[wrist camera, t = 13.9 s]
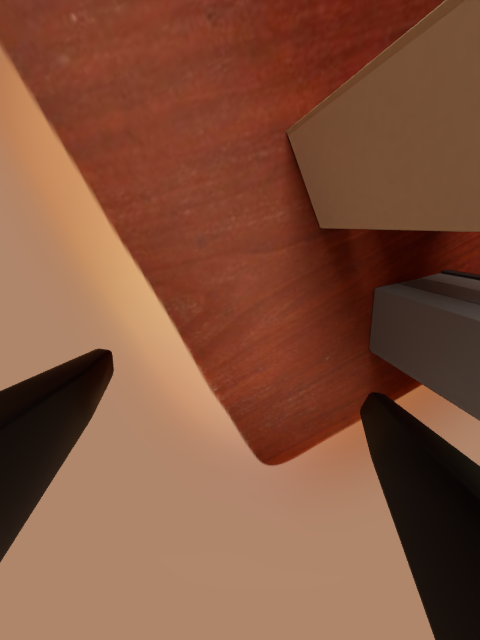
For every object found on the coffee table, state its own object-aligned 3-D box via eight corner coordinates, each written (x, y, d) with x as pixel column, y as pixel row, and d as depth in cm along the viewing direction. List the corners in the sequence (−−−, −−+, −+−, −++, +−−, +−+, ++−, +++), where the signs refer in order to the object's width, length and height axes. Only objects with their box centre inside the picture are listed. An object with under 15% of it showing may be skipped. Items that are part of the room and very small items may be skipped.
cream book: (320, 228, 18) (637, 236, 6) (285, 131, 15) (779, -275, 3) (347, 211, 18) (718, 183, 6) (318, 111, 16) (937, -369, 3)
